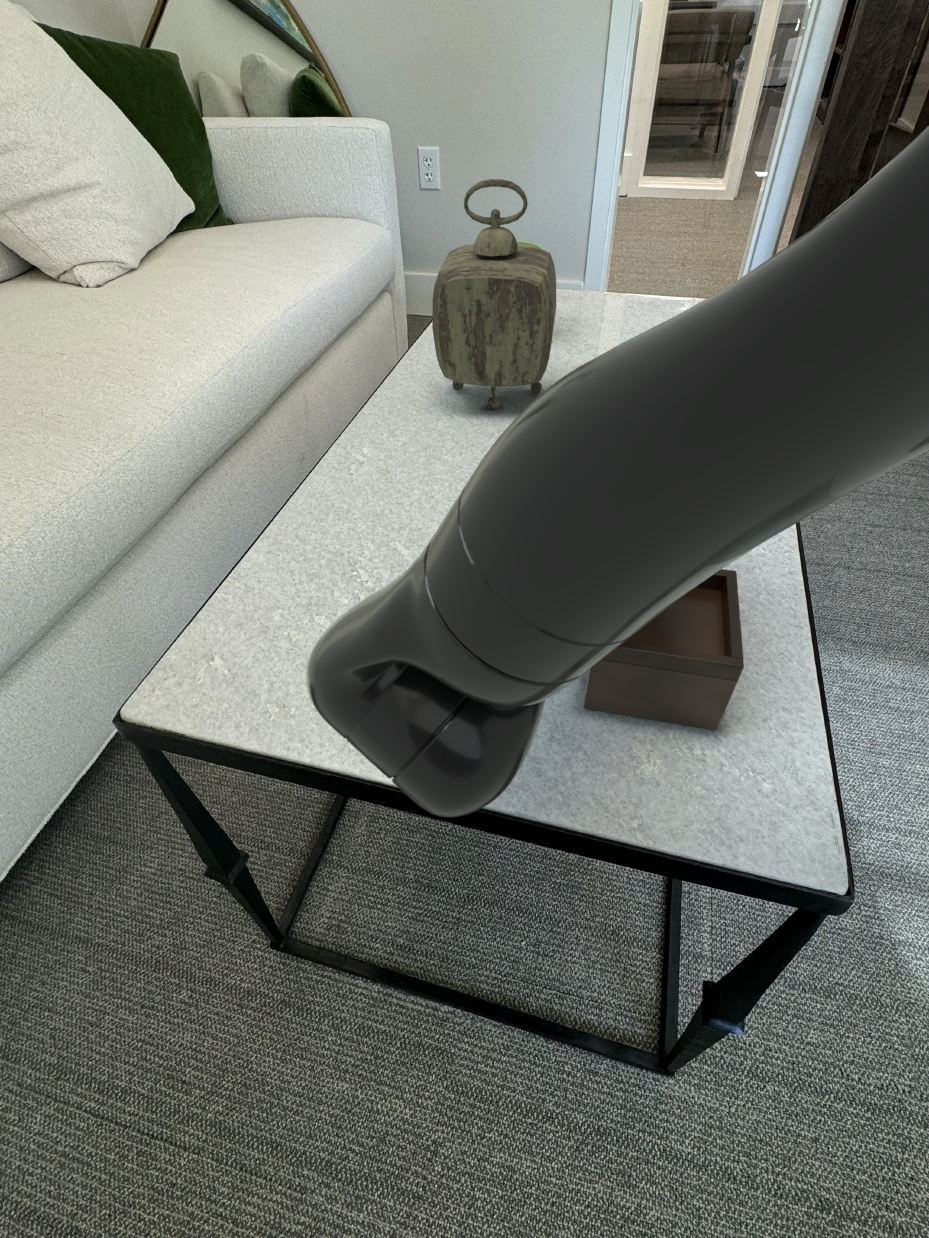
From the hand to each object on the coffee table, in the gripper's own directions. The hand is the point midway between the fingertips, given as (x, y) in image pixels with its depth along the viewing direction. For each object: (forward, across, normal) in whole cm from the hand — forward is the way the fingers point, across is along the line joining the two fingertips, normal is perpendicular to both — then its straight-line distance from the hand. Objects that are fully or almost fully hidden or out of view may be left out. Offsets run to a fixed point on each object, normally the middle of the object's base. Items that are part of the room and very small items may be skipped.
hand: (685, 402), depth 48 cm
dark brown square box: (-10, -5, +18) cm, 21 cm away
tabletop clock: (+23, +31, +18) cm, 42 cm away
